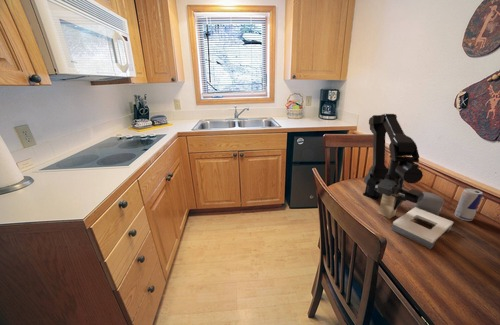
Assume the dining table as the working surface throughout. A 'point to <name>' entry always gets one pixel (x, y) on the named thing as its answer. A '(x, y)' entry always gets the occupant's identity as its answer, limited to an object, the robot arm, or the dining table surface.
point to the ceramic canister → (430, 203)
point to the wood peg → (388, 205)
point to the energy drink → (468, 204)
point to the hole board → (421, 227)
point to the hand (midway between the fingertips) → (388, 207)
